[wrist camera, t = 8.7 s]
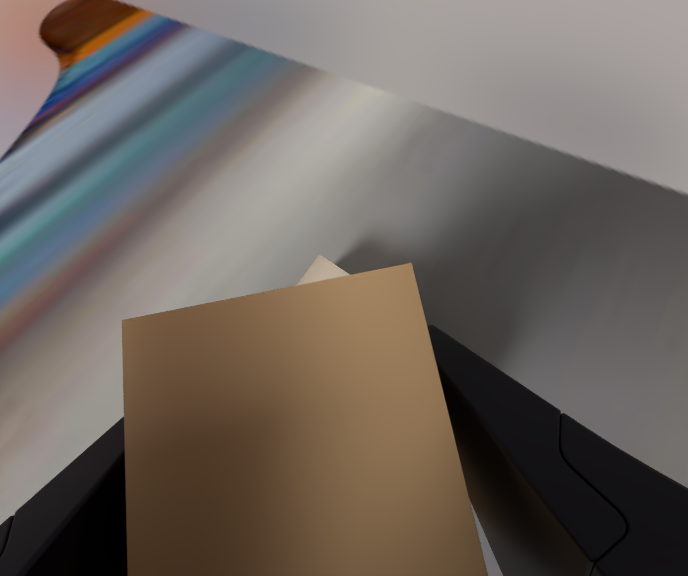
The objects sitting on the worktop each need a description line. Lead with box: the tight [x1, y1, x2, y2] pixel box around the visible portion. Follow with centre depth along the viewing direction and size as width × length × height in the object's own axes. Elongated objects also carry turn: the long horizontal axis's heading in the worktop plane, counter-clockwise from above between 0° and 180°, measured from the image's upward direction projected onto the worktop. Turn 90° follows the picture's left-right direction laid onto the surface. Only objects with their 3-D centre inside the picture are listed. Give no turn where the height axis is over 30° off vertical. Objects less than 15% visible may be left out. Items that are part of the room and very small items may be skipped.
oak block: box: [122, 263, 488, 576], centre depth 10 cm, size 5×5×10 cm
